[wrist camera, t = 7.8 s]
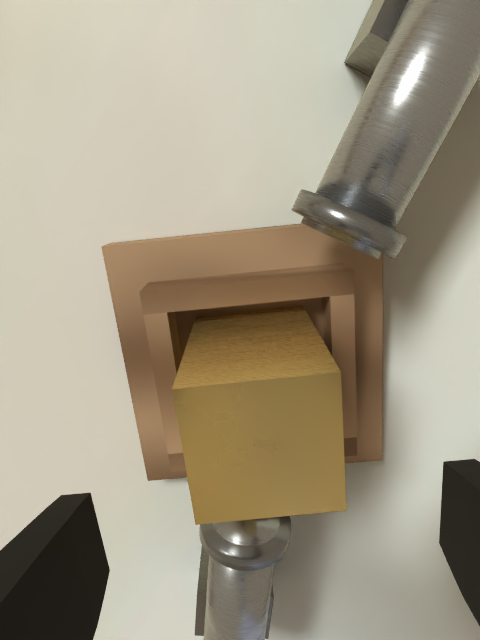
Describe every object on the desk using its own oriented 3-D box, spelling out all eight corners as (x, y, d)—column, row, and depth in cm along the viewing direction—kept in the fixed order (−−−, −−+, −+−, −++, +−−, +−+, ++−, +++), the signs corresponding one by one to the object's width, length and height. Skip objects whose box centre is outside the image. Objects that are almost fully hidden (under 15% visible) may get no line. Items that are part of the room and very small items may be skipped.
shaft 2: (351, 246, 16) (410, 274, 10) (275, 210, 15) (296, 220, 10) (468, 23, 14) (618, -86, 8) (384, -26, 13) (485, -173, 8)
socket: (374, 445, 18) (395, 483, 16) (152, 466, 19) (140, 506, 16) (374, 215, 15) (399, 220, 13) (109, 243, 16) (87, 252, 13)
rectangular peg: (308, 400, 17) (346, 510, 11) (210, 410, 17) (195, 524, 11) (302, 304, 15) (340, 371, 10) (196, 316, 16) (172, 389, 10)
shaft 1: (208, 444, 18) (196, 548, 13) (279, 448, 18) (297, 554, 13) (200, 582, 21) (186, 718, 15) (263, 585, 21) (272, 722, 15)
